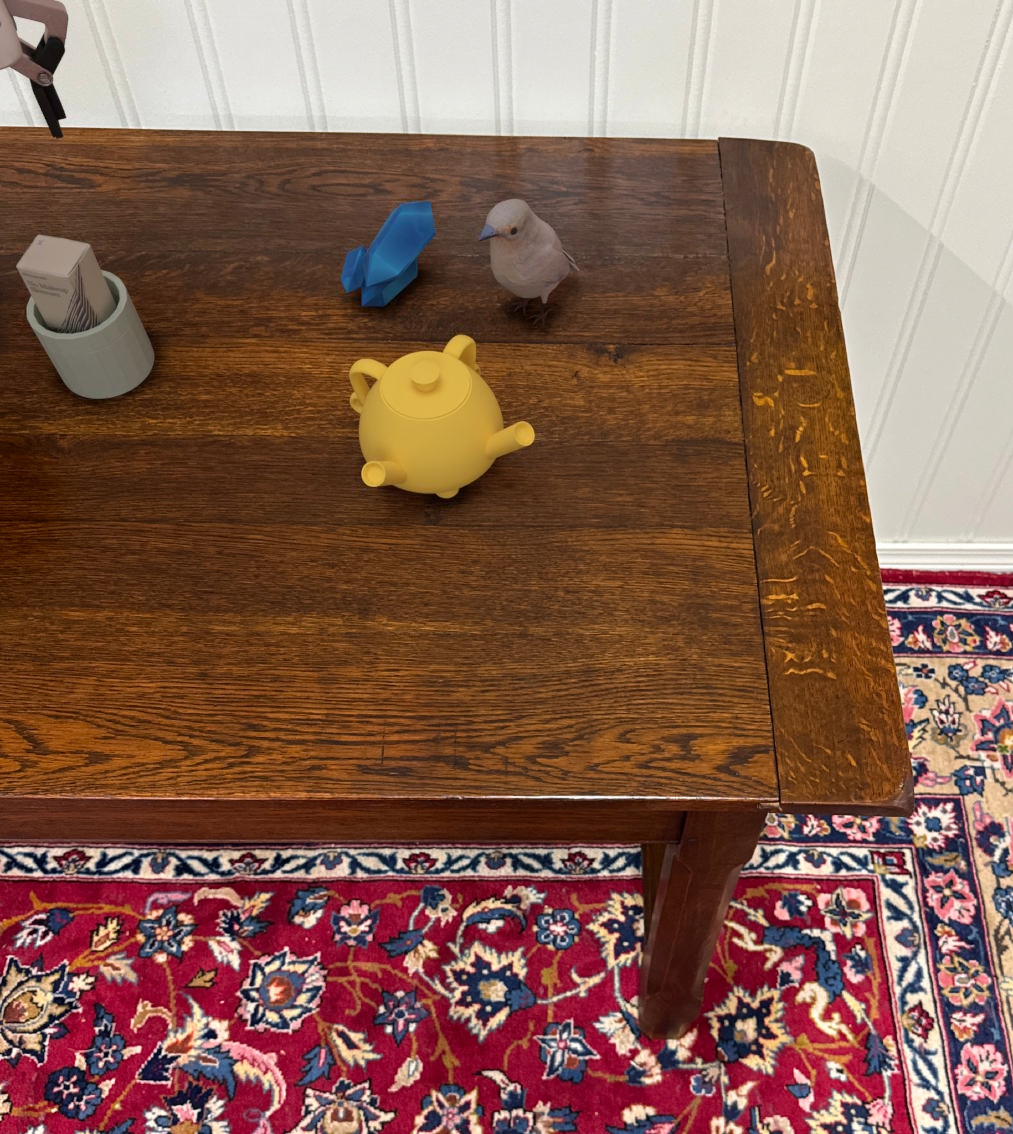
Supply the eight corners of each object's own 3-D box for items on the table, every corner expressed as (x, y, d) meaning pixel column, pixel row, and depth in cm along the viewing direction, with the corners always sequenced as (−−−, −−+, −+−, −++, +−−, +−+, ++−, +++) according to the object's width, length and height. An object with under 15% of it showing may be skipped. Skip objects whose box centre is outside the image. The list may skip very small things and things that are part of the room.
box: (69, 371, 94) (9, 266, 83) (90, 338, 96) (34, 231, 85) (120, 381, 93) (67, 276, 82) (140, 347, 95) (90, 241, 84)
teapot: (377, 542, 84) (359, 463, 75) (340, 423, 91) (320, 337, 82) (536, 498, 87) (538, 416, 77) (489, 386, 93) (486, 297, 84)
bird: (464, 338, 97) (456, 212, 84) (555, 267, 102) (561, 137, 89) (501, 363, 95) (498, 239, 82) (592, 289, 100) (603, 161, 87)
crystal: (313, 257, 93) (384, 164, 95) (340, 311, 101) (405, 223, 103) (376, 287, 91) (447, 191, 93) (399, 339, 99) (463, 250, 101)
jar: (63, 407, 93) (26, 347, 86) (60, 340, 97) (25, 278, 90) (158, 388, 94) (129, 327, 87) (151, 323, 98) (123, 260, 91)
